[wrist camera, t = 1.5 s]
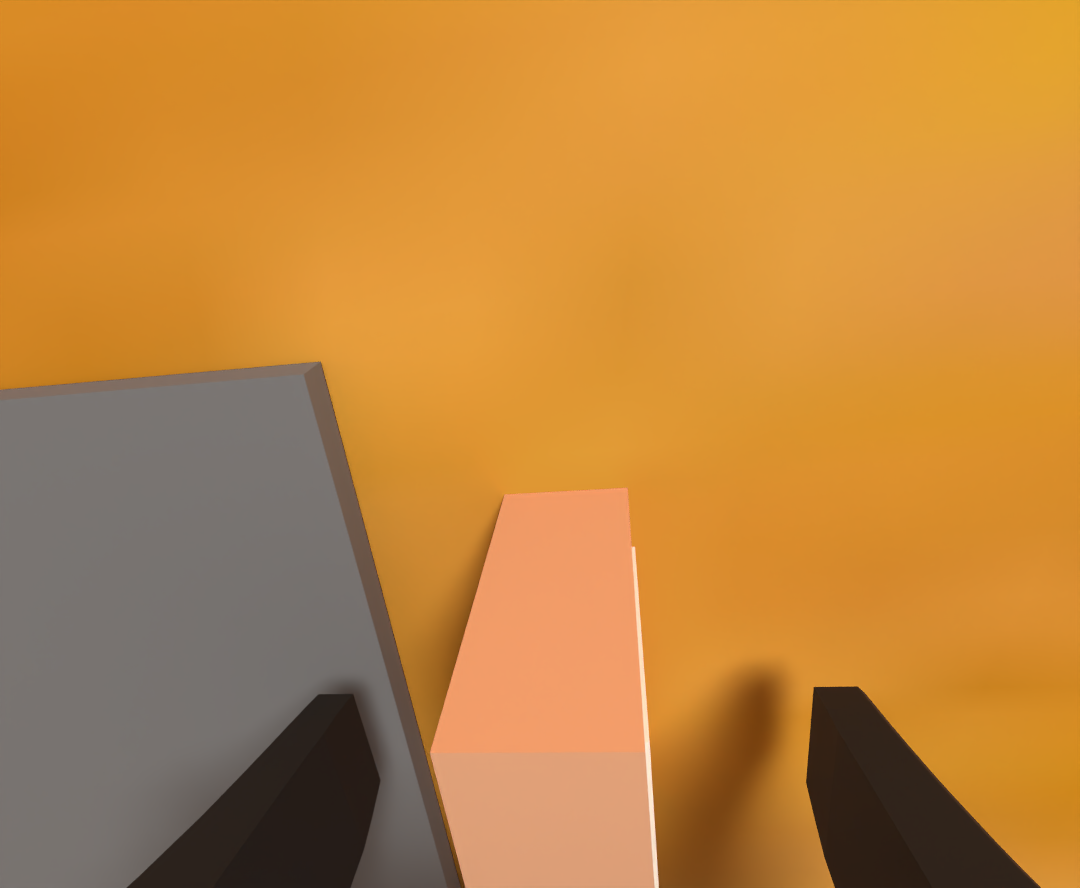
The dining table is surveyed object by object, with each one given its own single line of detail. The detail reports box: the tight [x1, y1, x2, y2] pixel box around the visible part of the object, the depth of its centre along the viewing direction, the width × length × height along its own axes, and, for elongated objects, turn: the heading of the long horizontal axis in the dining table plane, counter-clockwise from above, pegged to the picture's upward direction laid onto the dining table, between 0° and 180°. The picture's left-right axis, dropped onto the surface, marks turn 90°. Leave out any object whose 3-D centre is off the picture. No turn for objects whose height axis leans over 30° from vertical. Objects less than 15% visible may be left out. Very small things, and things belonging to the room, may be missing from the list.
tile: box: [430, 488, 659, 888], centre depth 10 cm, size 7×2×5 cm, turn 7°
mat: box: [0, 362, 461, 888], centre depth 14 cm, size 20×14×1 cm
